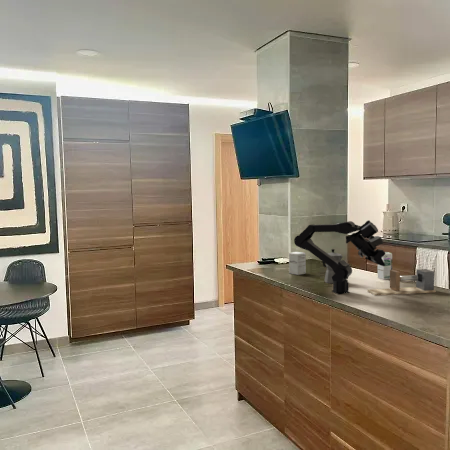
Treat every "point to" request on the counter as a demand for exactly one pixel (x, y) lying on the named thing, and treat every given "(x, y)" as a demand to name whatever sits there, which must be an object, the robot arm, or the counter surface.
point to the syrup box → (385, 270)
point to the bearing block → (425, 279)
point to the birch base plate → (402, 291)
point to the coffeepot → (329, 270)
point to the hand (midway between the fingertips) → (382, 265)
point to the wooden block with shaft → (399, 279)
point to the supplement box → (297, 263)
